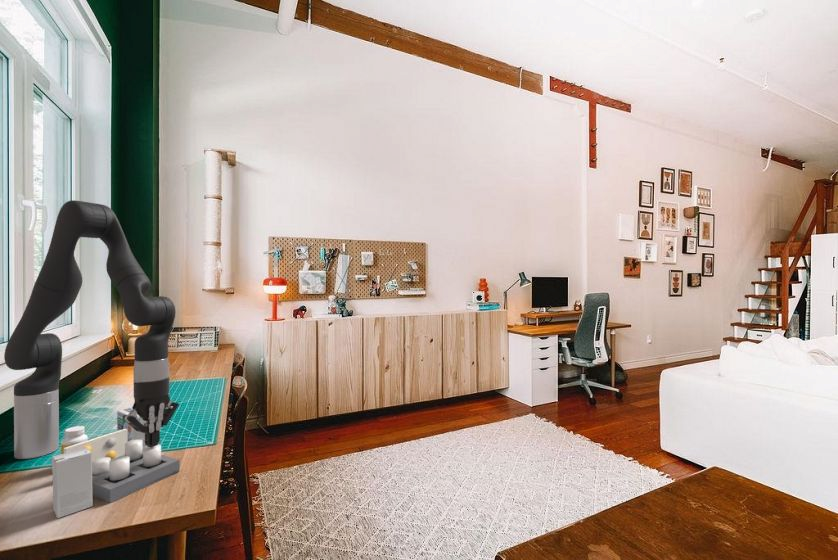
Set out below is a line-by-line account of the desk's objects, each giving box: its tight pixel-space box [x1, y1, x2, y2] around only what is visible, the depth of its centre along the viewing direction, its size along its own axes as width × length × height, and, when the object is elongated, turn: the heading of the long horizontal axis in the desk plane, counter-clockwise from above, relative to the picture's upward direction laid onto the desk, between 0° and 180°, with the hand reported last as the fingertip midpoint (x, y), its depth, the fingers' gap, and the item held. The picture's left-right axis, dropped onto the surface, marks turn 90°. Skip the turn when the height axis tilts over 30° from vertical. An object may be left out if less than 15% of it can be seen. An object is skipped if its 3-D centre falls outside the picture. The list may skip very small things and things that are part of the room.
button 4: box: [143, 444, 162, 467], centre depth 102 cm, size 4×4×4 cm
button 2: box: [109, 456, 130, 481], centre depth 96 cm, size 4×4×4 cm
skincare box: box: [51, 448, 94, 519], centre depth 87 cm, size 6×4×12 cm
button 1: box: [92, 457, 111, 477], centre depth 99 cm, size 4×4×4 cm
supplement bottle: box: [60, 425, 89, 454], centre depth 108 cm, size 5×5×10 cm
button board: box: [92, 454, 181, 504], centre depth 101 cm, size 16×16×3 cm
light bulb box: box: [116, 406, 147, 448], centre depth 119 cm, size 11×7×11 cm, turn 55°
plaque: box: [64, 429, 128, 461], centre depth 106 cm, size 1×14×8 cm, turn 155°
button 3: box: [125, 440, 143, 461], centre depth 106 cm, size 4×4×4 cm
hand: (152, 445), depth 102 cm, fingers closed
